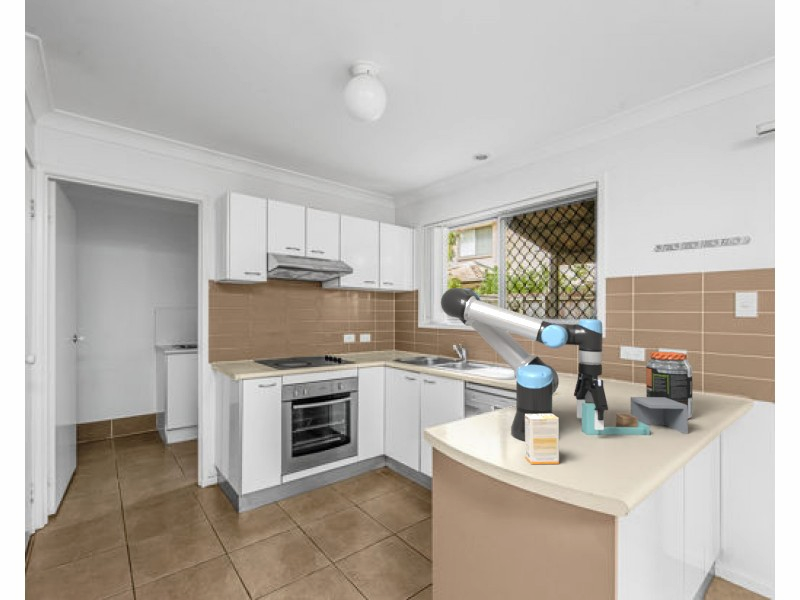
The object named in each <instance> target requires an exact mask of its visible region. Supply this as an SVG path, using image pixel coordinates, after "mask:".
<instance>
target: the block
mask: <svg viewBox="0 0 800 600" xmlns="http://www.w3.org/2000/svg"><path fill="white" fill-rule="evenodd" d="M615 427H638V418H637V417H634V416H632V415H631V413H616V414H615Z"/></svg>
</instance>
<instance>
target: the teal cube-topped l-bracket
mask: <svg viewBox="0 0 800 600" xmlns="http://www.w3.org/2000/svg"><path fill="white" fill-rule="evenodd" d="M595 408H596V407H595V404H594V403H582V421H581V432H582V433H584V434H585V435H587V436H599V435H621V436H622V435H624V436H625V435H626V436H627V435H628V436H631V435H633V436H650V433H651V432H650V431H651V430H650V428H651V427H650V426H649V424H644V423H642V422H640V421H638V427H616V426H604V430H595V429H594V425H595V410H594V409H595Z"/></svg>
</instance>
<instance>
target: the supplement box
mask: <svg viewBox="0 0 800 600" xmlns="http://www.w3.org/2000/svg"><path fill="white" fill-rule="evenodd" d="M559 419H560V418H559V416H556V415H555V414H553V413H552V414H525V441H524V445H525V446H524V451H525V453H524V456H525V460H526V461H527V462H528V463H529V462H530V463H531V464H530V463H529V464H530V465H559V464H560V433H559V432H560V428H559V427H560V425H559V424H560V422H559V421H560V420H559Z"/></svg>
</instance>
